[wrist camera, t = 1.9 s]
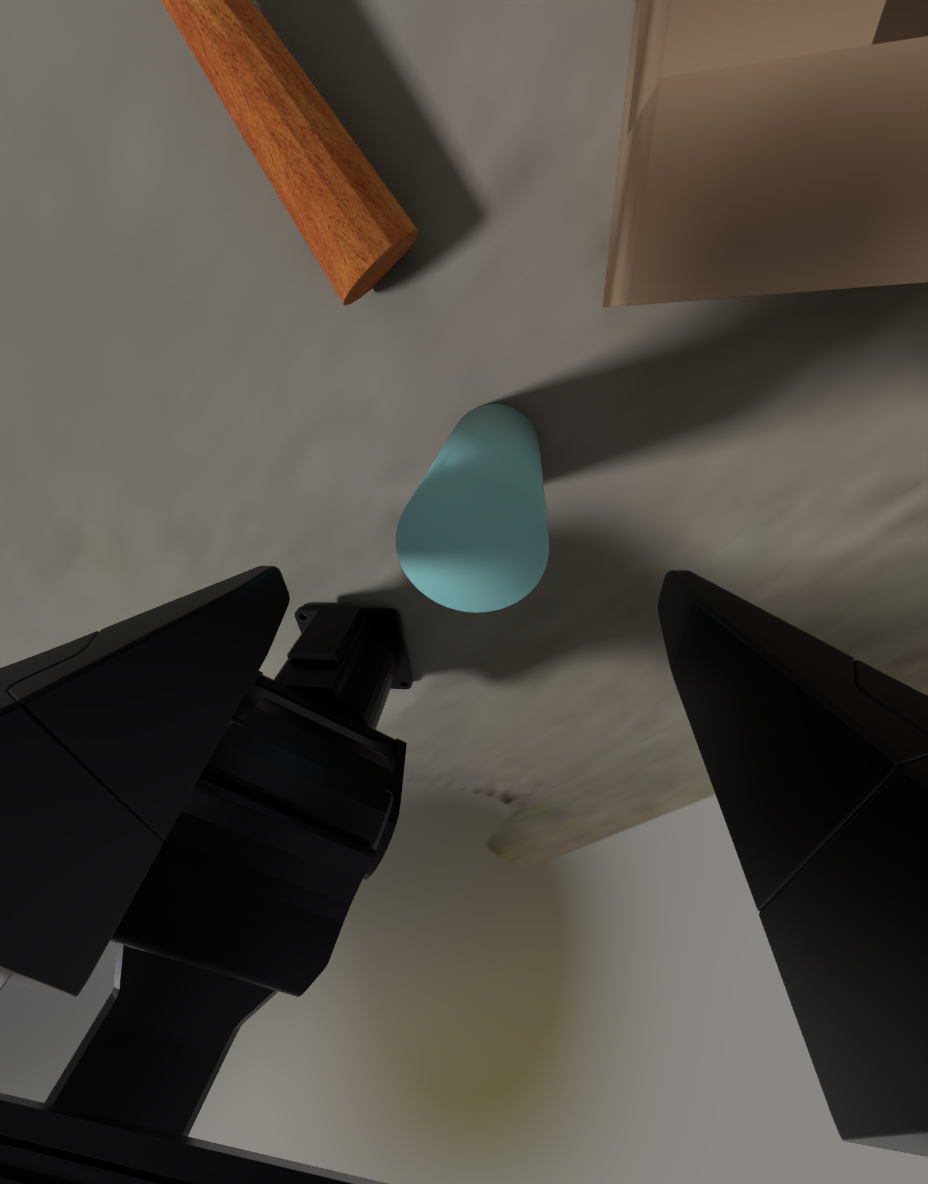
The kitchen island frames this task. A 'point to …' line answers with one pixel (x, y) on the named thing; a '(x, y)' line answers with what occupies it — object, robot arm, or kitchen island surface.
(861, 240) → the hole block
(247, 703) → the robot arm
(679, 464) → the kitchen island surface
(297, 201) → the wooden maraca
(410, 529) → the pin
